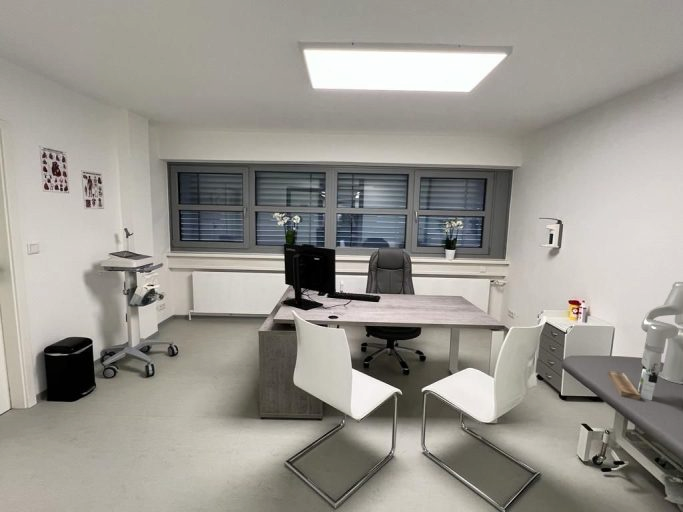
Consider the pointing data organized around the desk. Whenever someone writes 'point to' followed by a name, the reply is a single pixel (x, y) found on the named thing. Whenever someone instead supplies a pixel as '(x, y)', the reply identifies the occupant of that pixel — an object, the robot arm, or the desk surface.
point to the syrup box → (646, 385)
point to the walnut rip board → (624, 385)
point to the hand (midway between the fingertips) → (648, 377)
